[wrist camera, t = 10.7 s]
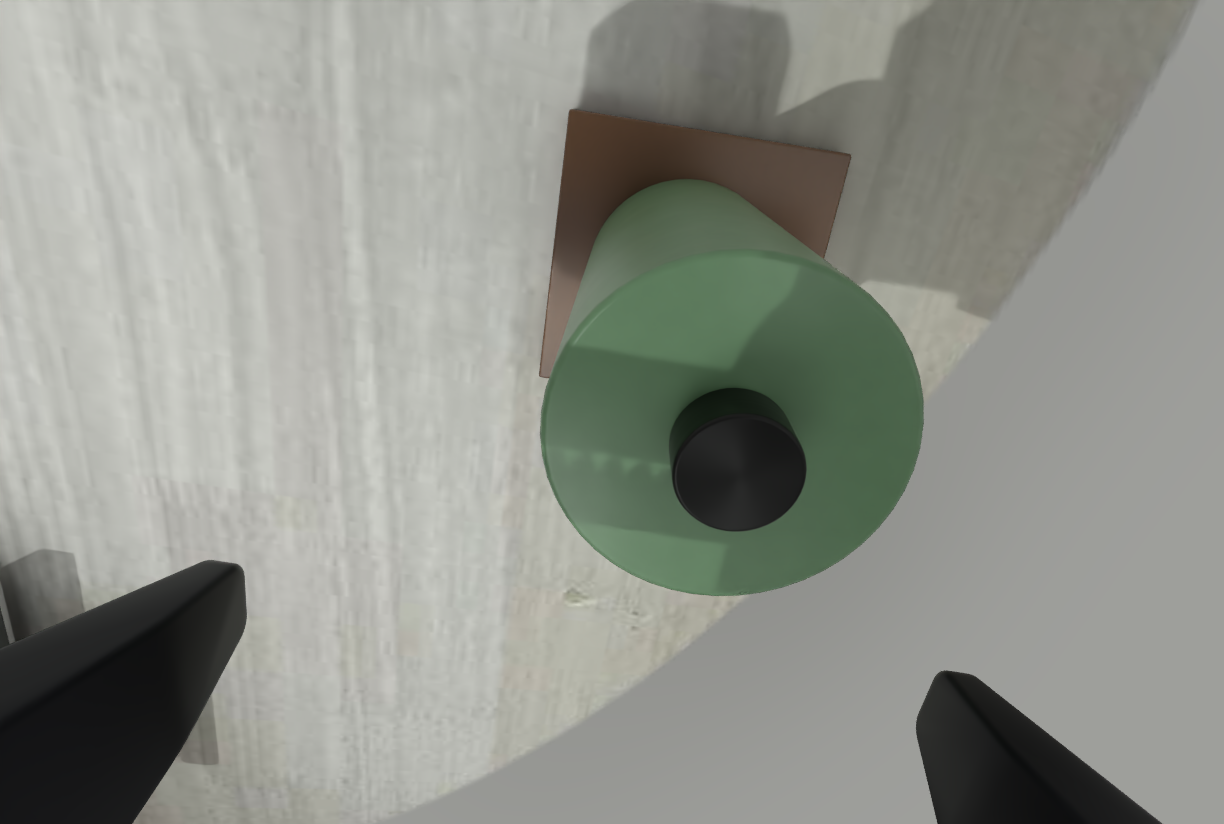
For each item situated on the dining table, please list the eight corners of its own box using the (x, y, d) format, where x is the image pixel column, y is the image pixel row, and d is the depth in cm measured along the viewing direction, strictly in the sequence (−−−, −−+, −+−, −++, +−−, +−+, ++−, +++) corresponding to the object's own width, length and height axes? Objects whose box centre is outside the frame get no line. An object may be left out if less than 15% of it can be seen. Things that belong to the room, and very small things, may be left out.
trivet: (777, 403, 20) (782, 414, 20) (542, 367, 20) (538, 377, 19) (843, 153, 18) (852, 154, 17) (571, 109, 17) (569, 108, 17)
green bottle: (799, 195, 17) (1025, 304, 7) (753, 380, 19) (881, 665, 9) (602, 164, 17) (554, 230, 7) (576, 353, 19) (511, 613, 9)
